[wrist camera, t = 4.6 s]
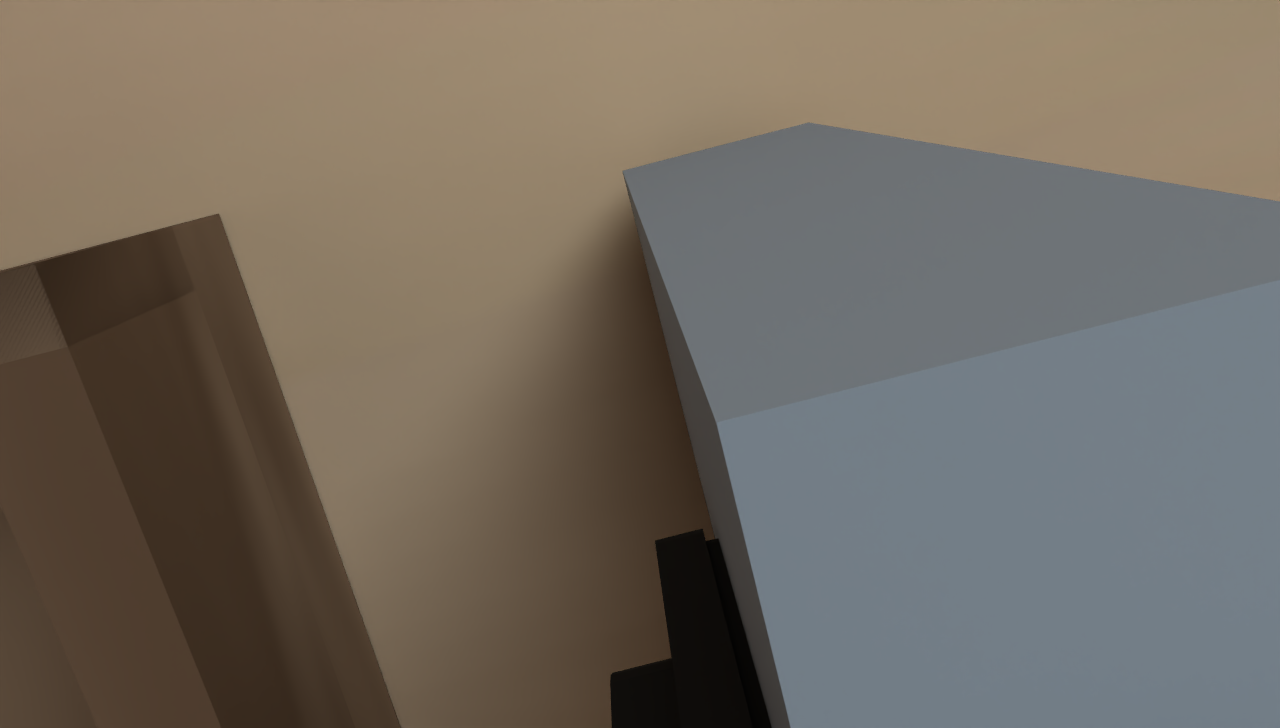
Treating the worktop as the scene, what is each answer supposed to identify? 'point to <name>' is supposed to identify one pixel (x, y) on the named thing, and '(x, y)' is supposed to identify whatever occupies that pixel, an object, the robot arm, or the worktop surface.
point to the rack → (162, 506)
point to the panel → (978, 430)
